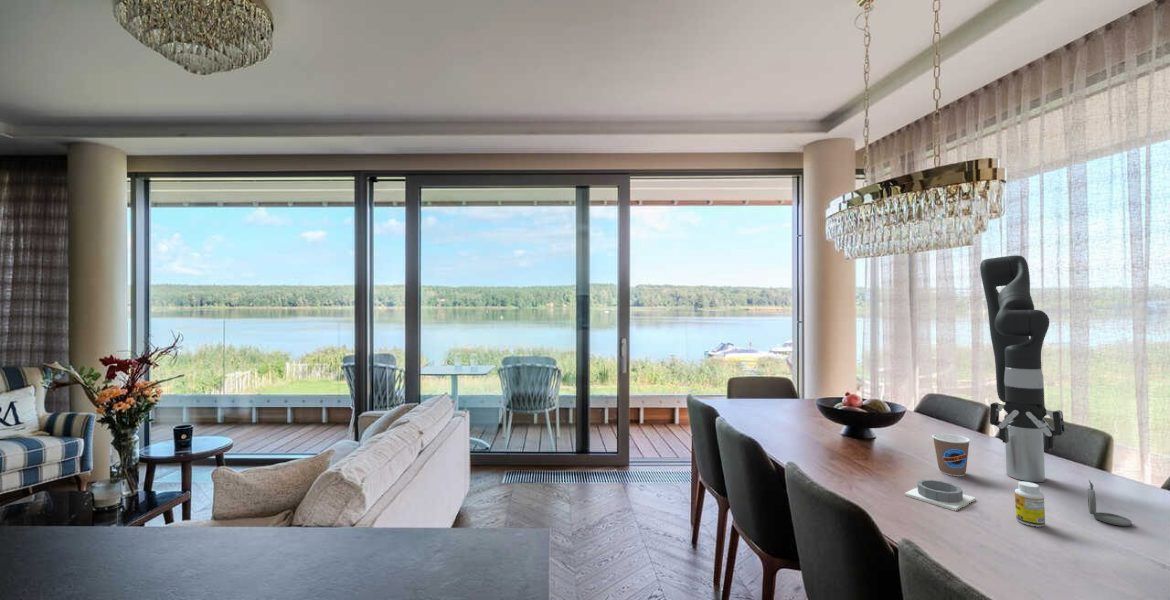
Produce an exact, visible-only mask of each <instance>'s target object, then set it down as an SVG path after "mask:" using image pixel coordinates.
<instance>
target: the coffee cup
mask: <svg viewBox="0 0 1170 600" xmlns="http://www.w3.org/2000/svg"><path fill="white" fill-rule="evenodd" d="M931 437H932V439H933V444H934V449H935V454H936V455H935V456H936V460H937V466H938V470H939V472H940V473H942V474H945V475H947V476H952V475H953V476H954V477H963V476H966V473H967V468H968V466H967V465H968V457H969V447H970V442H971V439H970V438H968V437H966V436H962V435H957V434H951V433H949V434H948V433H935V434H932V436H931ZM953 476H952V477H953Z"/></svg>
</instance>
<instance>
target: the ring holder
mask: <svg viewBox="0 0 1170 600" xmlns="http://www.w3.org/2000/svg"><path fill="white" fill-rule="evenodd" d="M916 483H917V487H914V488H912V489H910V490H908V491H906V492H904V496H905V497H908V498H912V499H915V500H918V501H921V502H925V503H928V504H931V505H935V506H939V507H942V508H944V509H947V510H948V509H949V510H952V511H954V510H955V511H954V512H957V511H959V510H961V509H962V507H963V508H965V507H966V506H968V505H970V504H971V502H972V503H973V502H975V501H976V500H977V499H976V497H975V496H971V495H967V494H964V493H963V489H962V488H961V487H960V486H959V485H956V484H953V483H951V482H948V481H944V480H937V479H920V480H918V481H917V482H916ZM969 503H970V504H969ZM960 508H961V509H960ZM958 509H959V510H958ZM956 510H957V511H956Z"/></svg>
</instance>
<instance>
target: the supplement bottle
mask: <svg viewBox="0 0 1170 600" xmlns="http://www.w3.org/2000/svg"><path fill="white" fill-rule="evenodd" d="M1017 484H1018V485H1017V487H1018V488H1016V489H1015V490H1014V503H1015V518H1016V520H1017V521H1018V522H1019V523H1021V524H1023V525H1025V524H1026V526H1029V525H1030V527H1034V526H1036V527H1035V528H1042V527H1044V526H1045V525H1046V518H1045V517H1046V515H1045V513H1046V512H1045V511H1046V510H1045V496H1044V494H1043V493H1042V492H1040V486H1039V484H1037V483H1035V482H1031V481H1024V480H1021V481H1018V483H1017ZM1041 526H1042V527H1041Z"/></svg>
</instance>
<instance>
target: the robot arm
mask: <svg viewBox="0 0 1170 600" xmlns="http://www.w3.org/2000/svg"><path fill="white" fill-rule="evenodd" d="M979 271H980V278H981V281H982V282H981V283H982V286H983V291H984V296H985V301H986V305H987V313H988V323H989V324H988V325H989V331H990V339H991V346H992V351H993V356H994V365H995V381H996V392H997V396H998V399H999V400H1000V402H1002V403H1004V404H1002V403H998V402H992V403H990V406H989V408H990V409H989V424H990V425H992V426H996V427H997V428H998V431H999V439H1000V440H1001V441H1002V443H1003V444H1005V446H1004V447H1005V467H1006V475H1007V476H1008V477H1011V478H1013V479H1016V480H1021V481H1023V482H1030V483H1042V482H1045V481H1046V474H1045V473H1046V471H1045V451H1050V452H1051V451H1052V450H1053V449H1054V448H1055V447H1056V440H1055V439H1056V436H1062V435H1064V434H1065V433H1066V430H1065V424H1064V423H1065V422H1064V413H1063V411H1062V410H1060V409H1059V410H1057V409H1056V410H1050V409H1049V410H1047V408H1046V406H1045V385H1044V384H1045V383H1044V374H1043V371H1042V349H1043V344H1044V340H1045V337H1046V336H1047V333H1048V331H1049V330H1048V329H1049V326H1050V318H1049V316H1048V314H1047V313H1045V312H1044V311H1043V310H1041V309H1035V305H1034V302H1033V299H1032V295H1031V280H1030V279H1031V278H1030V269H1029V264H1028V261H1027V260H1026V259H1025V257H1023V256H1022V255H1019V254H1018V255H1015V254H1014V255H1006V256H998V257H991V258H986V259H982V261H981V263H980V266H979ZM997 287H1003V288H1002V289H1001V290H1000V292H999V291H998V289H997ZM1003 410H1004V411H1005V412H1006V413H1007V414H1005V415H1004V417H1003V420H1002V421H1000V412H1002V411H1003ZM1047 415H1048V416H1049V418H1050V419H1051V420H1053V427H1054V429H1053V428H1052V427H1051V426H1050V425H1049V423H1048V422H1047V421H1046V420H1045V417H1046V416H1047ZM1044 434H1045V435H1044ZM1044 442H1045V443H1044ZM1044 444H1045V445H1044ZM1044 449H1045V450H1044Z"/></svg>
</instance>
